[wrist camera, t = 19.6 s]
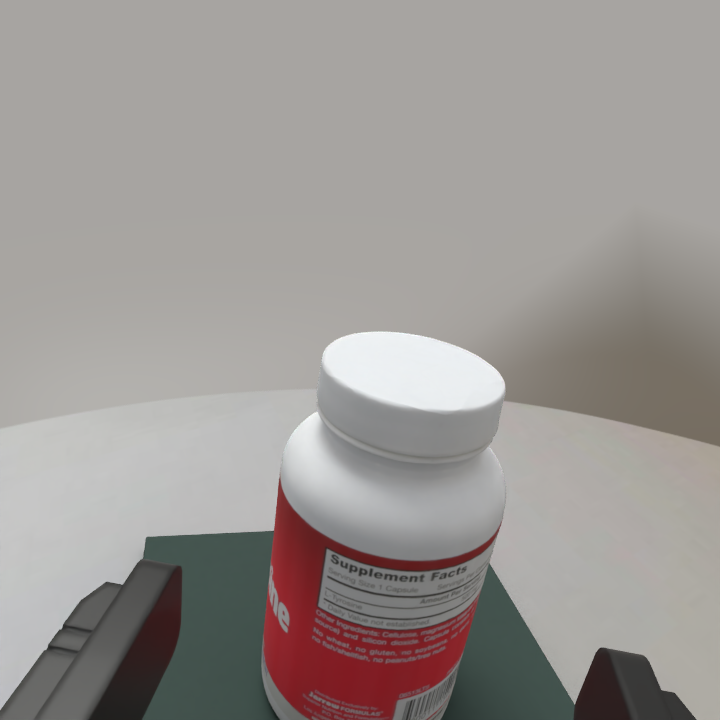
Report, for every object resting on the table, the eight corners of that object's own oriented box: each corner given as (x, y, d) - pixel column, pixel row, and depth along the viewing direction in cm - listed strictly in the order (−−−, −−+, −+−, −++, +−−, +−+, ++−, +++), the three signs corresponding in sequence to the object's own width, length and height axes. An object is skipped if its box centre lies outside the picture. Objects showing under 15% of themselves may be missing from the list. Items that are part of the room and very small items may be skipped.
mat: (146, 548, 23) (146, 536, 23) (462, 531, 27) (464, 521, 27) (79, 1056, 11) (77, 1041, 11) (674, 897, 15) (683, 884, 15)
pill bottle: (290, 583, 22) (324, 307, 18) (450, 622, 21) (525, 345, 17) (228, 740, 16) (257, 390, 12) (444, 800, 16) (554, 451, 11)
